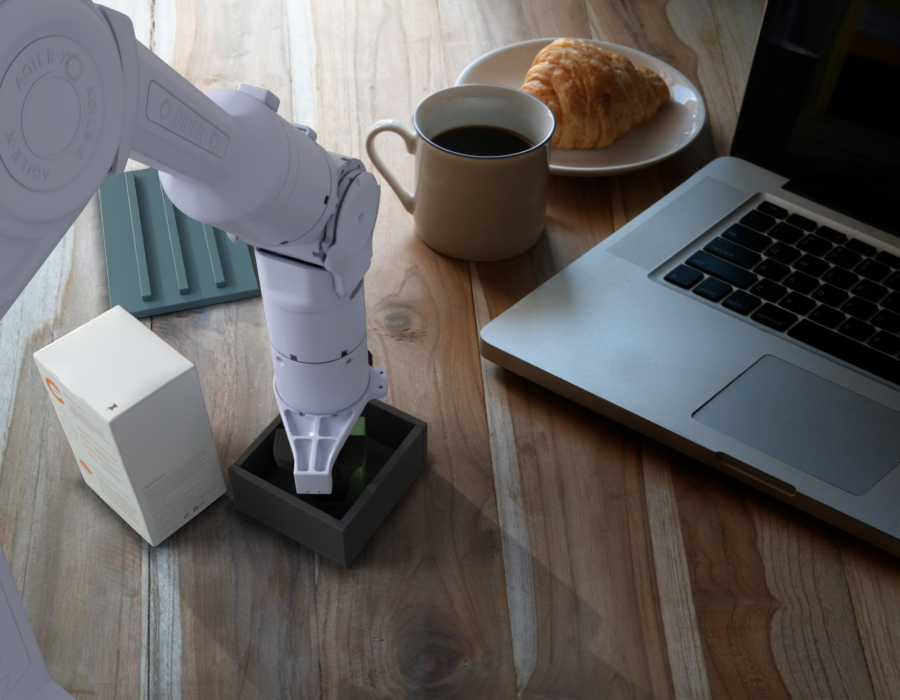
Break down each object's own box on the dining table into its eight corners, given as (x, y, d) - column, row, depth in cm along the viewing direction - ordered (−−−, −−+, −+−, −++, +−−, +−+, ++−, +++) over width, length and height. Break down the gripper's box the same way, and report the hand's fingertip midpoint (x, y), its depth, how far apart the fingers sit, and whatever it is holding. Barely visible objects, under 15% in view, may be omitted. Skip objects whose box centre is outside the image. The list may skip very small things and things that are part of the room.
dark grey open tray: (346, 569, 61) (342, 531, 58) (235, 508, 64) (226, 469, 61) (427, 462, 67) (427, 422, 64) (322, 411, 70) (318, 371, 67)
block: (299, 506, 64) (293, 467, 60) (305, 454, 67) (300, 415, 64) (363, 506, 64) (361, 468, 61) (367, 455, 67) (364, 416, 64)
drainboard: (260, 295, 79) (258, 283, 78) (113, 323, 76) (109, 310, 75) (225, 163, 92) (223, 151, 91) (99, 182, 89) (95, 170, 88)
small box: (229, 492, 65) (198, 364, 56) (153, 550, 61) (107, 425, 52) (158, 430, 68) (118, 301, 59) (83, 482, 65) (27, 354, 56)
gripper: (380, 426, 49) (386, 561, 59) (390, 249, 59) (394, 390, 69) (246, 424, 49) (274, 560, 59) (280, 247, 59) (299, 388, 69)
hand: (332, 468), depth 64 cm, fingers closed on block, 4 cm apart
